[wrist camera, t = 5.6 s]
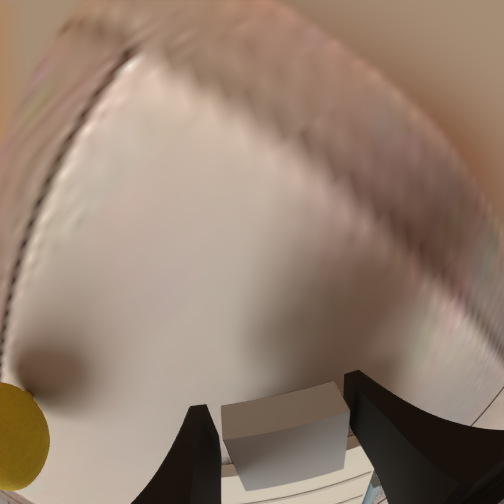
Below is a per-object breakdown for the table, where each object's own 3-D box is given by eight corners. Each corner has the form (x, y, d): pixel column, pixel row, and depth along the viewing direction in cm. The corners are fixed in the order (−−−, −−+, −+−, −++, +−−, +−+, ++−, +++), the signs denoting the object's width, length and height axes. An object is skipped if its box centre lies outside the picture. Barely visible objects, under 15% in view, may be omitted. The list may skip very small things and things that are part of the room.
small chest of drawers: (356, 504, 13) (362, 519, 12) (238, 530, 13) (240, 547, 11) (387, 363, 9) (409, 388, 8) (160, 412, 9) (155, 445, 7)
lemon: (40, 359, 12) (-28, 461, 4) (79, 428, 13) (45, 526, 6) (-15, 355, 11) (-77, 429, 4) (22, 419, 13) (-17, 496, 5)
